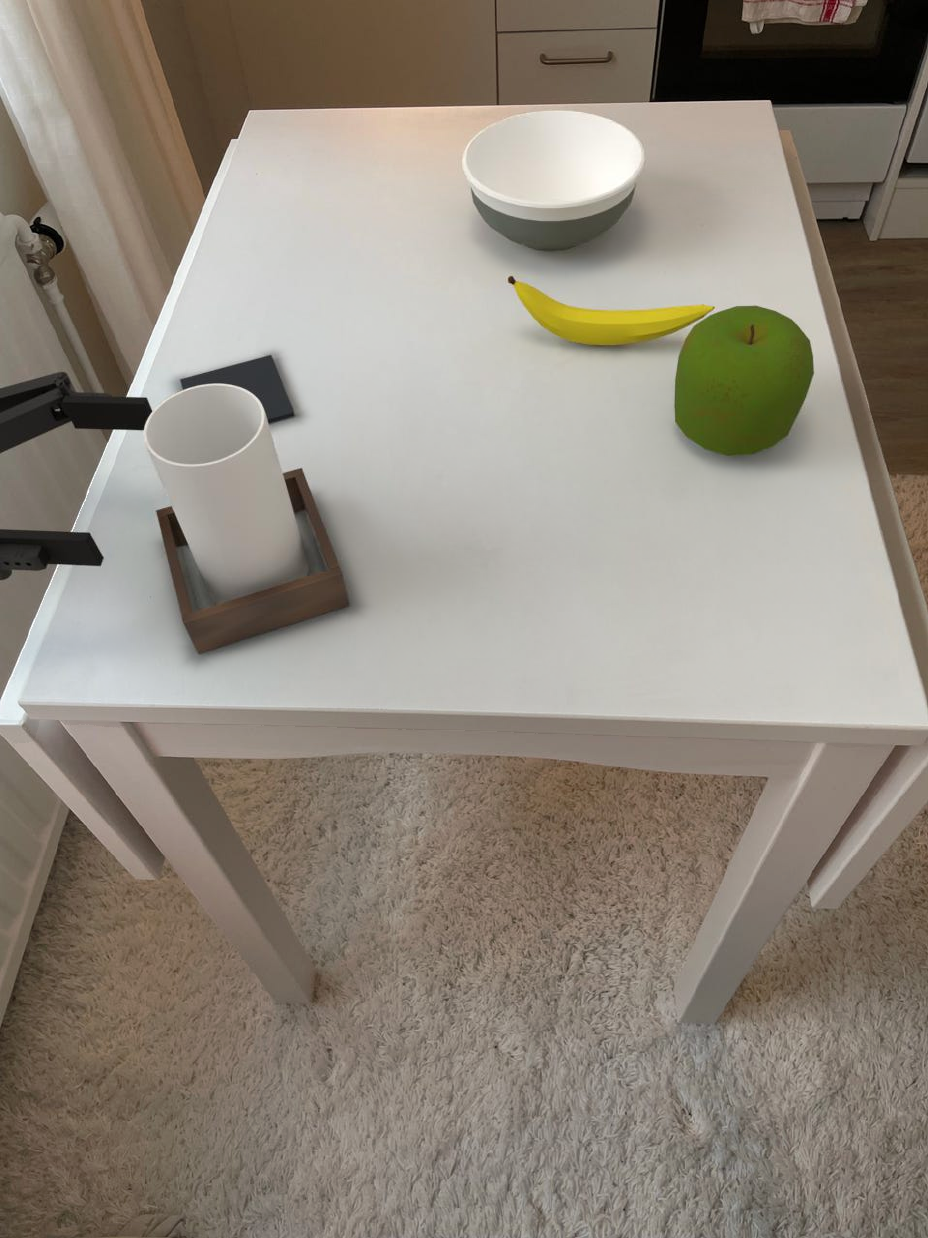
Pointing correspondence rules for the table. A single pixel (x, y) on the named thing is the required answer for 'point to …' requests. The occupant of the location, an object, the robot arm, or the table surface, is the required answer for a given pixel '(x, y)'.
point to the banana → (605, 319)
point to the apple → (742, 380)
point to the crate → (263, 606)
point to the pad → (251, 384)
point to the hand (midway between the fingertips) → (125, 478)
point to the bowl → (553, 176)
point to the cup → (226, 489)
